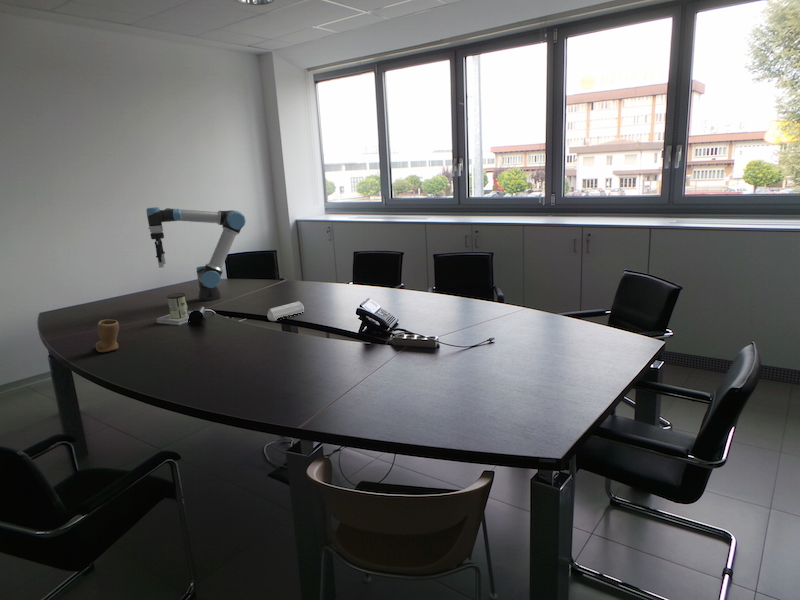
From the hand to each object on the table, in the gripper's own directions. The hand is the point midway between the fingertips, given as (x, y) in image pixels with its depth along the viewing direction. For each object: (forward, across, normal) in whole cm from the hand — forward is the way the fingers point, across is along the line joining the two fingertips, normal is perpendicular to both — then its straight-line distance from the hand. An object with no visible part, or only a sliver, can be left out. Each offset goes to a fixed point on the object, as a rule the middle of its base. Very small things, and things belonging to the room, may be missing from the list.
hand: (162, 265), depth 334 cm
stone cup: (+29, +73, -24) cm, 82 cm away
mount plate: (+29, +32, +8) cm, 44 cm away
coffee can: (+28, +31, +8) cm, 42 cm away
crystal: (+29, +59, +67) cm, 94 cm away
